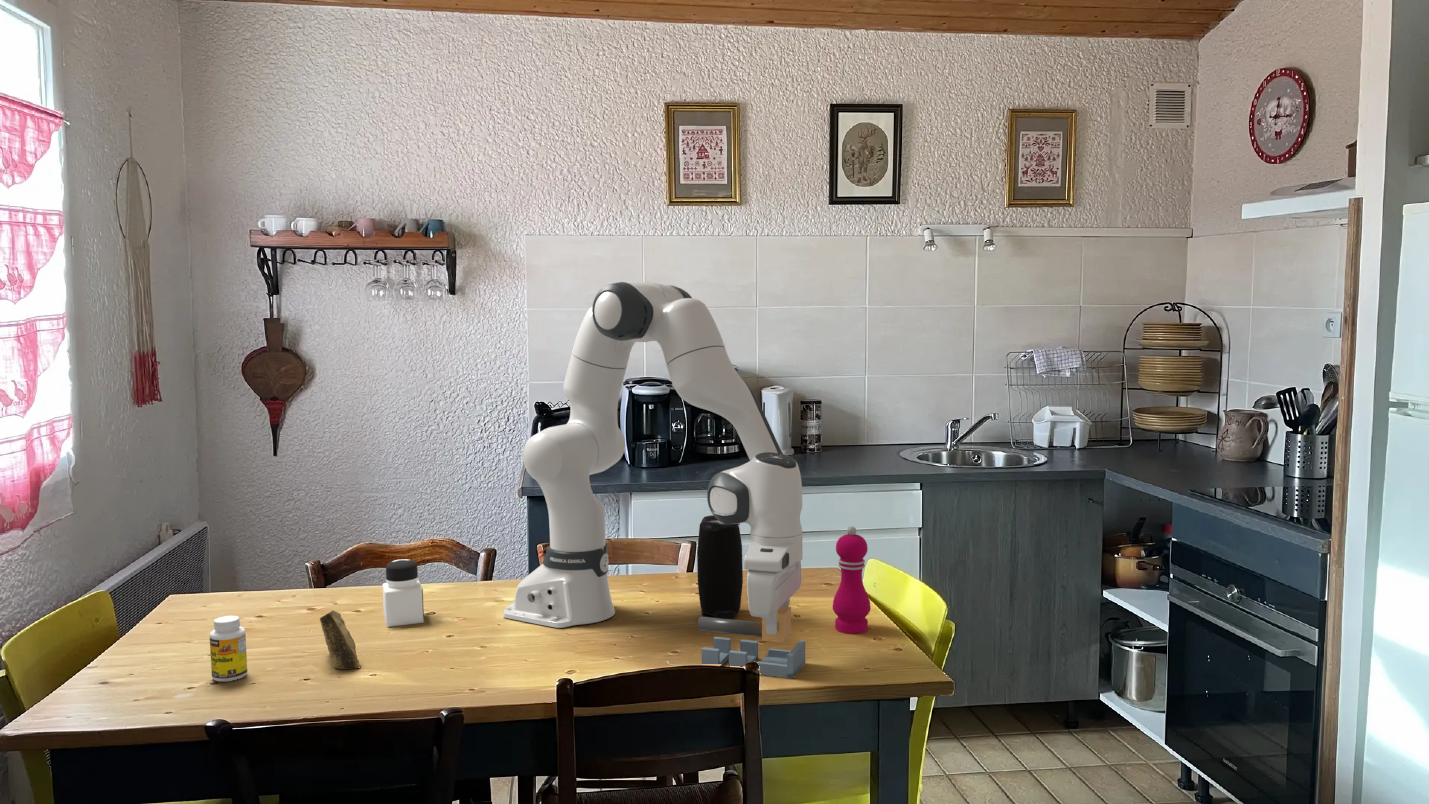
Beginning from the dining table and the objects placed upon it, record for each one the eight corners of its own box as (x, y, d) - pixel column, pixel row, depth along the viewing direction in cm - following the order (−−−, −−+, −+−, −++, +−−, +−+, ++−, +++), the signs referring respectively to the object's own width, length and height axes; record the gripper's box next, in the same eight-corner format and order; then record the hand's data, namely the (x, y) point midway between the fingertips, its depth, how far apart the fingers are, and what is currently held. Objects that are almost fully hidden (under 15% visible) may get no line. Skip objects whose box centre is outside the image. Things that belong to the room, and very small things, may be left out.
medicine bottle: (424, 623, 209) (421, 563, 208) (386, 627, 206) (384, 567, 205) (420, 613, 215) (417, 555, 214) (383, 617, 213) (381, 559, 212)
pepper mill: (869, 635, 198) (869, 531, 196) (830, 633, 200) (830, 529, 197) (871, 624, 205) (872, 522, 203) (834, 622, 207) (834, 521, 204)
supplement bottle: (204, 682, 178) (201, 623, 177) (225, 670, 183) (221, 613, 182) (235, 683, 177) (231, 624, 176) (254, 672, 182) (251, 614, 181)
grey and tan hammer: (696, 633, 184) (695, 605, 183) (704, 626, 188) (703, 599, 187) (784, 642, 178) (784, 614, 178) (791, 635, 182) (790, 607, 182)
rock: (315, 639, 193) (294, 649, 183) (343, 600, 193) (325, 609, 183) (362, 674, 193) (345, 686, 183) (391, 635, 193) (375, 646, 183)
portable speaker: (750, 611, 214) (750, 516, 212) (724, 624, 206) (724, 525, 204) (715, 605, 219) (715, 512, 217) (689, 616, 211) (688, 520, 209)
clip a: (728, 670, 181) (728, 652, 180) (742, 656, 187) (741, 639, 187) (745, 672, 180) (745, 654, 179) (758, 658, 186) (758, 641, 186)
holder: (753, 674, 179) (753, 651, 178) (767, 658, 186) (766, 636, 186) (793, 678, 176) (793, 655, 176) (805, 663, 184) (805, 640, 183)
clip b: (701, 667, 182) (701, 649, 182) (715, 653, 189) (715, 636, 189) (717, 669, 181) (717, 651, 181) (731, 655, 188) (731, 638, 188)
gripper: (776, 534, 190) (776, 609, 192) (740, 561, 171) (741, 644, 172) (810, 536, 188) (810, 612, 189) (777, 564, 169) (778, 648, 170)
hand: (777, 628), depth 181 cm, fingers closed on grey and tan hammer, 4 cm apart
